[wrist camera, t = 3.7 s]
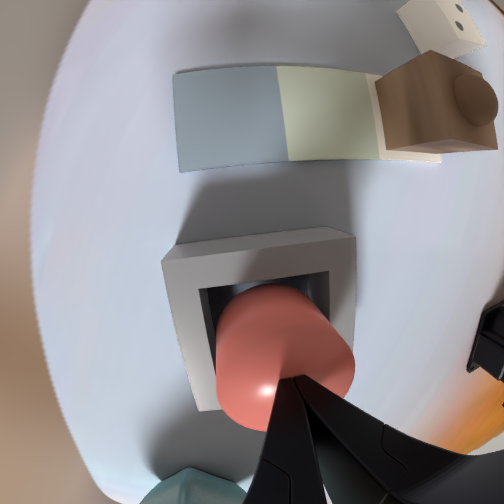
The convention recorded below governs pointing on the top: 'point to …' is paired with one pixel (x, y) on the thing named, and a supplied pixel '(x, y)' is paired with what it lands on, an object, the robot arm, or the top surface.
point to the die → (441, 27)
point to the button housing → (250, 270)
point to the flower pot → (195, 490)
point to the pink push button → (274, 351)
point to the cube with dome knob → (437, 107)
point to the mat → (279, 117)
